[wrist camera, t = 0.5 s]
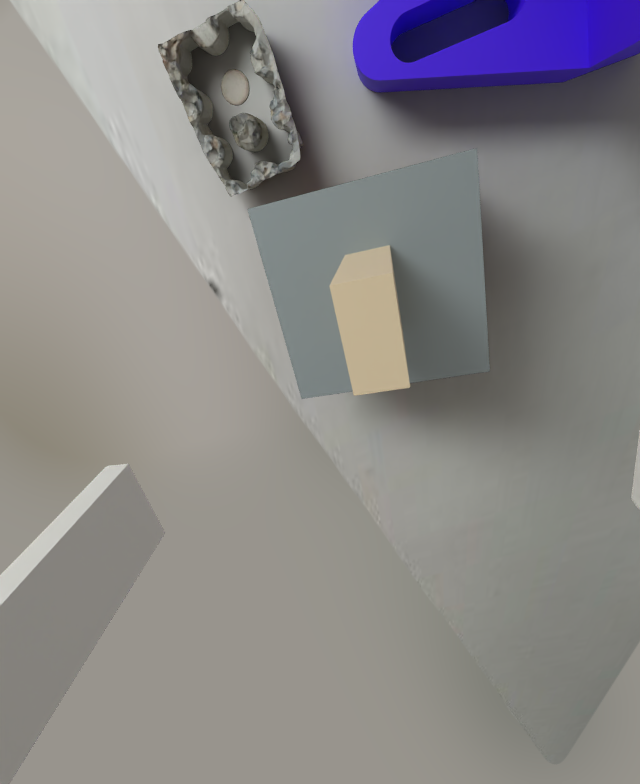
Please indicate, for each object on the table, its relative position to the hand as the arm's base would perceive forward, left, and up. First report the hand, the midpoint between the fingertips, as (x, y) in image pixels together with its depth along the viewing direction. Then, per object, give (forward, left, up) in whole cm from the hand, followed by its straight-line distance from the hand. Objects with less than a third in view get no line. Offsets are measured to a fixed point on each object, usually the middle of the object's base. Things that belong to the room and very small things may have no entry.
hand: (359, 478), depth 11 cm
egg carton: (-14, -8, -29) cm, 33 cm away
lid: (0, 0, -21) cm, 21 cm away
